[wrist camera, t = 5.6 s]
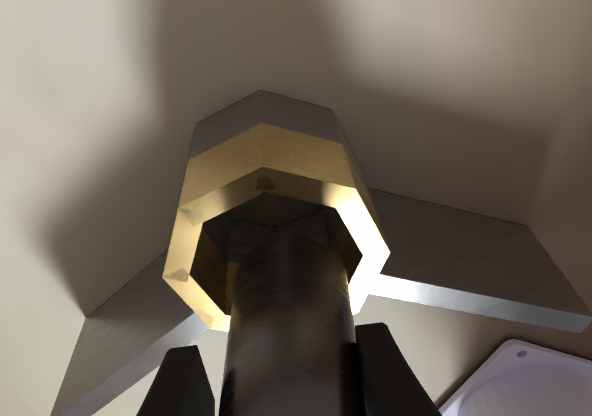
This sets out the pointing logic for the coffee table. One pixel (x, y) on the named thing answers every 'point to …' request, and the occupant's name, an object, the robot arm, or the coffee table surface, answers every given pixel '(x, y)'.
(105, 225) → the coffee table surface
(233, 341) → the pin
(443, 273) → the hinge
